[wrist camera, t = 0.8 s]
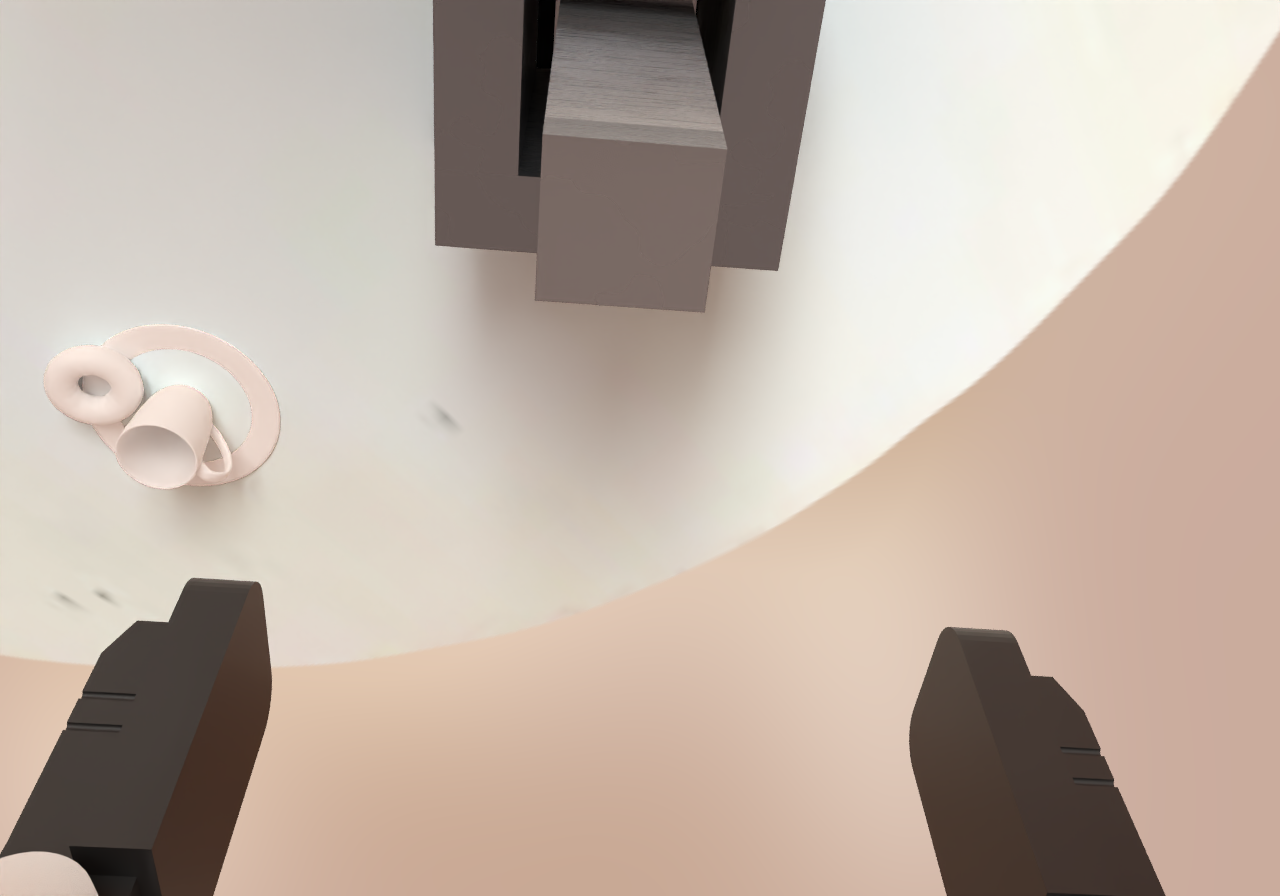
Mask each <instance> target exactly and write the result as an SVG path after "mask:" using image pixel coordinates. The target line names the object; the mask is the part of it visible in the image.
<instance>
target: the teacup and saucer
mask: <svg viewBox="0 0 1280 896" xmlns="http://www.w3.org/2000/svg"><path fill="white" fill-rule="evenodd" d="M159 349H178V350H184V351H189V352H193V353H196V354H199V355H202V356H204V357H206V358H208V359H210V360H212V361H214V362H216V363H217V364H219V365H220V366H222V367H223V368H225V369H226V370H227V371H228V372H229V373H230V374H231V375H233V377H234V378H235V379H236V380H237V381H238V382H239V383H240V385H241V386H242V388H243V389H244V391H245V393H246V395H247V397H248V399H249V402H250V406H251V411H252V423H251V428H250V431H249V434H248V436H247V438H246V439H245V441H244V442H243V443H242V445H241V446H240V447H239V448H238V449H236V450H235V451H234V452H232V453H230V450H229V447H228V445H227V443H226V441H225V439H224V438H223V436H222V435H221V433H220V432H219V430H218V429H217V428H216V427H215V425H214V424H213V423H212V410H211V406H210V403H209V401H208V400H207V398H206V397H205V396H204V395H203V394H202V393H201V392H200V391H198V390H197V389H195V388H193V387H190V386H187V385H172V386H168V387H165V388H163V389H161V390H159V391H158V392H156V393H155V394H153V395H152V396H151V397H150V398H149V399H148V400H147V401H146V402H145V403H144V404H143V405H142V406H141V408H140V409H139V410H138V411H137V413H136V414H135V415H134V417H133V418H132V419H131V421H130V422H129V423H128V425H127V426H126V427H124V425H123V424H122V422H121V421H122V420H124V419H126V418H127V417H129V416H130V415H131V414H133V413H134V412H135V411H136V409H137V408H138V407H139V405H140V403H141V401H142V399H143V395H144V386H143V381H142V378H141V376H140V373H139V371H138V370H137V368H136V367H135V366H134V364H133V363H132V362H131V361H130V360H131V359H133V358H134V357H136V356H138V355H140V354H143V353H146V352H149V351H153V350H159ZM82 376H83V382H82V390H81V389H80V386H79V385H78V380H79V378H80V377H82ZM44 389H45V392H46V394H47V396H48V398H49V400H50V401H51V403H52V404H53V405H54V406H55V407H56V408H57V409H58V410H59V411H60V412H62V413H63V414H65V415H66V416H68V417H70V418H72V419H74V420H76V421H79V422H82V423H86V424H92V426H93V428H94V429H95V431H96V432H97V434H98V435H99V437H100V438H101V439H102V440H103V442H104V443H105V444H106V445H107V446H108V447H109V448H110V449H111V450H112V451H113V452H114V453H115V454H116V458H117V461H118V463H119V465H120V466H121V468H122V469H123V470H124V471H125V473H126V474H128V475H129V476H130V477H131V478H132V479H134V480H135V481H137V482H139V483H141V484H143V485H145V486H148V487H152V488H156V489H174V488H178V487H181V486H183V485H190V486H212V485H219V484H225V483H229V482H232V481H235V480H238V479H240V478H242V477H244V476H246V475H248V474H250V473H251V472H253V471H254V470H256V469H257V468H258V467H259V466H261V465H262V464H263V463H264V462H265V461H266V459H267V458H268V457H269V456H270V454H271V453H272V451H273V449H274V447H275V445H276V443H277V440H278V436H279V432H280V411H279V406H278V402H277V399H276V396H275V394H274V391H273V389H272V387H271V385H270V384H269V382H268V380H267V379H266V377H265V376H264V374H263V373H262V372H261V371H260V369H259V368H258V367H257V366H256V365H255V364H254V363H253V362H252V361H251V360H250V359H249V358H248V357H247V356H246V355H244V354H243V353H242V352H241V351H239V350H238V349H237V348H235V347H234V346H232V345H231V344H229V343H227V342H226V341H224V340H222V339H220V338H218V337H216V336H214V335H211V334H209V333H206V332H203V331H200V330H197V329H194V328H190V327H185V326H179V325H170V324H153V325H144V326H139V327H134V328H131V329H128V330H125V331H123V332H120V333H118V334H116V335H114V336H113V337H111V338H110V339H108V340H107V341H105V342H104V343H103V344H102V345H101V346H97V345H81V346H75V347H72V348H69V349H66V350H64V351H63V352H61V353H60V354H58V355H56V356H55V357H54V358H53V359H52V360H51V361H50V362H49V364H48V365H47V367H46V370H45V373H44ZM210 436H211V437H212V439H213V440H214V441H215V443H216V444H217V446H218V448H219V450H220V452H221V454H222V457H223V458H220V459H217V460H213V461H207V462H203V461H202V459H203V455H204V452H205V450H206V447H207V444H208V441H209V437H210Z"/></svg>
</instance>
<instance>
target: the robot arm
mask: <svg viewBox="0 0 1280 896" xmlns="http://www.w3.org/2000/svg"><path fill="white" fill-rule="evenodd" d="M271 690H272V675H271V664H270V655H269V646H268V637H267V628H266V619H265V610H264V601H263V593H262V588H261V586H260V584H259V583H258V582H251V581H235V580H219V579H203V578H191V579H190V580H189V581H188V582H187V583H186V585H185V587H184V589H183V591H182V593H181V595H180V598H179V600H178V602H177V604H176V607H175V609H174V611H173V613H172V615H171V618H170V620H169V622H151V621H136V622H135V623H134V624H133V625H132V626H131V627H130V628H129V629H127V630H126V631H125V632H124V633H123V634H122V635H121V636H120V637H119V638H117V639H116V640H115V641H114V642H113V643H112V644H111V645H110V646H109V647H108V648H106V649H105V650H104V651H103V652H102V653H101V655H100V657H99V659H98V661H97V663H96V665H95V667H94V669H93V671H92V673H91V675H90V677H89V679H88V681H87V683H86V685H85V687H84V689H83V695H82V698H81V699H78V701H77V703H76V705H75V707H74V709H73V711H72V713H71V715H70V717H69V719H68V721H67V728H66V730H63V731H62V733H61V735H60V737H59V739H58V741H57V743H56V745H55V747H54V749H53V751H52V753H51V755H50V757H49V759H48V761H47V763H46V765H45V767H44V769H43V772H42V773H41V775H40V778H39V779H38V781H37V783H36V785H35V787H34V790H33V791H32V793H31V795H30V797H29V799H28V802H27V803H26V805H25V808H24V809H23V811H22V814H21V815H20V818H19V819H18V821H17V823H16V825H15V828H14V829H13V831H12V834H11V836H10V838H9V840H8V842H7V844H6V845H5V847H4V849H3V850H2V852H1V854H0V896H213V894H214V891H215V888H216V885H217V882H218V878H219V875H220V872H221V869H222V865H223V862H224V859H225V856H226V853H227V849H228V846H229V843H230V840H231V837H232V834H233V830H234V827H235V824H236V821H237V818H238V815H239V811H240V808H241V805H242V802H243V798H244V796H245V792H246V789H247V786H248V783H249V780H250V776H251V773H252V770H253V767H254V763H255V760H256V757H257V754H258V751H259V748H260V745H261V741H262V738H263V735H264V731H265V728H266V724H267V720H268V714H269V709H270V701H271ZM909 736H910V737H909V742H910V743H909V745H910V757H911V763H912V767H913V771H914V775H915V779H916V783H917V786H918V789H919V794H920V797H921V801H922V805H923V808H924V812H925V816H926V819H927V823H928V827H929V831H930V835H931V838H932V842H933V846H934V850H935V853H936V857H937V861H938V865H939V868H940V872H941V876H942V879H943V883H944V887H945V891H946V894H947V896H1165V894H1164V891H1163V889H1162V887H1161V884H1160V882H1159V880H1158V878H1157V876H1156V873H1155V871H1154V869H1153V866H1152V864H1151V862H1150V860H1149V857H1148V855H1147V853H1146V850H1145V848H1144V846H1143V844H1142V842H1141V839H1140V837H1139V835H1138V832H1137V830H1136V828H1135V826H1134V823H1133V821H1132V819H1131V817H1130V814H1129V812H1128V810H1127V807H1126V805H1125V803H1124V801H1123V798H1122V796H1121V794H1120V792H1119V789H1118V788H1117V787H1114V778H1113V776H1112V774H1111V771H1110V769H1109V767H1108V765H1107V762H1106V760H1105V758H1104V756H1101V755H1100V746H1099V744H1098V742H1097V740H1096V737H1095V735H1094V733H1093V730H1092V728H1091V726H1090V724H1089V722H1088V719H1087V717H1086V715H1085V712H1084V711H1083V710H1082V709H1081V707H1080V706H1079V705H1078V704H1077V703H1076V702H1075V701H1074V700H1073V699H1072V698H1071V697H1070V695H1068V693H1067V692H1066V691H1065V690H1064V689H1063V688H1062V687H1061V686H1060V685H1059V684H1058V683H1057V682H1056V681H1055V679H1054V678H1053V677H1043V676H1031V675H1030V672H1029V669H1028V667H1027V665H1026V662H1025V660H1024V657H1023V655H1022V652H1021V650H1020V647H1019V645H1018V642H1017V640H1016V638H1015V637H1014V636H1013V634H1012V633H1010V632H1009V631H1004V630H989V629H988V630H987V629H972V628H956V627H947V628H945V629H944V630H943V631H942V632H941V634H940V636H939V638H938V641H937V644H936V647H935V649H934V652H933V655H932V658H931V661H930V664H929V667H928V670H927V673H926V675H925V678H924V681H923V684H922V687H921V690H920V693H919V695H918V698H917V701H916V704H915V707H914V710H913V714H912V718H911V724H910V734H909Z"/></svg>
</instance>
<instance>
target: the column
mask: <svg viewBox="0 0 1280 896" xmlns="http://www.w3.org/2000/svg"><path fill="white" fill-rule="evenodd" d="M696 4H697V0H556V10H555V30H554V51H553V59H552V67H551V74H550V82H549V89H548V97H547V105H546V112H545V120H544V127H543V136H542V158H541V180H540V202H539V224H538V246H537V268H536V291H535V300H537V301H551V302H565V303H579V304H593V305H607V306H621V307H635V308H650V309H664V310H678V311H692V312H705V305H706V298H707V291H708V284H709V277H710V270H711V262H712V255H713V248H714V241H715V234H716V227H717V220H718V212H719V205H720V198H721V191H722V184H723V177H724V169H725V162H726V155H727V146H726V142H725V137H724V133H723V129H722V125H721V120H720V116H719V112H718V108H717V103H716V99H715V95H714V91H713V86H712V82H711V78H710V74H709V69H708V65H707V61H706V57H705V52H704V48H703V44H702V40H701V35H700V31H699V27H698V23H697V18H696V14H695V13H696Z"/></svg>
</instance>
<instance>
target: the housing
mask: <svg viewBox="0 0 1280 896" xmlns="http://www.w3.org/2000/svg"><path fill="white" fill-rule="evenodd" d="M825 1H826V0H699V5H698V13H697V23H698V27H699V31H700V35H701V40H702V44H703V48H704V52H705V57H706V61H707V65H708V69H709V74H710V78H711V82H712V86H713V91H714V95H715V99H716V103H717V108H718V112H719V116H720V120H721V125H722V129H723V133H724V137H725V142H726V146H727V155H726V162H725V169H724V177H723V184H722V191H721V198H720V205H719V212H718V220H717V227H716V234H715V241H714V248H713V255H712V262H711V266H719V267H733V268H746V269H760V270H773V271H778V267H779V262H780V256H781V250H782V245H783V239H784V233H785V228H786V222H787V216H788V211H789V205H790V199H791V194H792V188H793V182H794V177H795V171H796V165H797V160H798V154H799V148H800V143H801V137H802V131H803V126H804V120H805V114H806V109H807V103H808V97H809V92H810V86H811V80H812V75H813V69H814V63H815V58H816V52H817V46H818V41H819V35H820V29H821V24H822V18H823V12H824V7H825ZM538 12H539V0H433V41H434V148H435V245H436V246H450V247H463V248H477V249H490V250H504V251H517V252H531V253H537V246H538V224H539V202H540V180H541V158H542V136H543V127H544V120H545V112H546V105H547V97H548V89H549V82H550V74H551V69H550V68H538V67H536V61H537V36H538Z"/></svg>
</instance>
